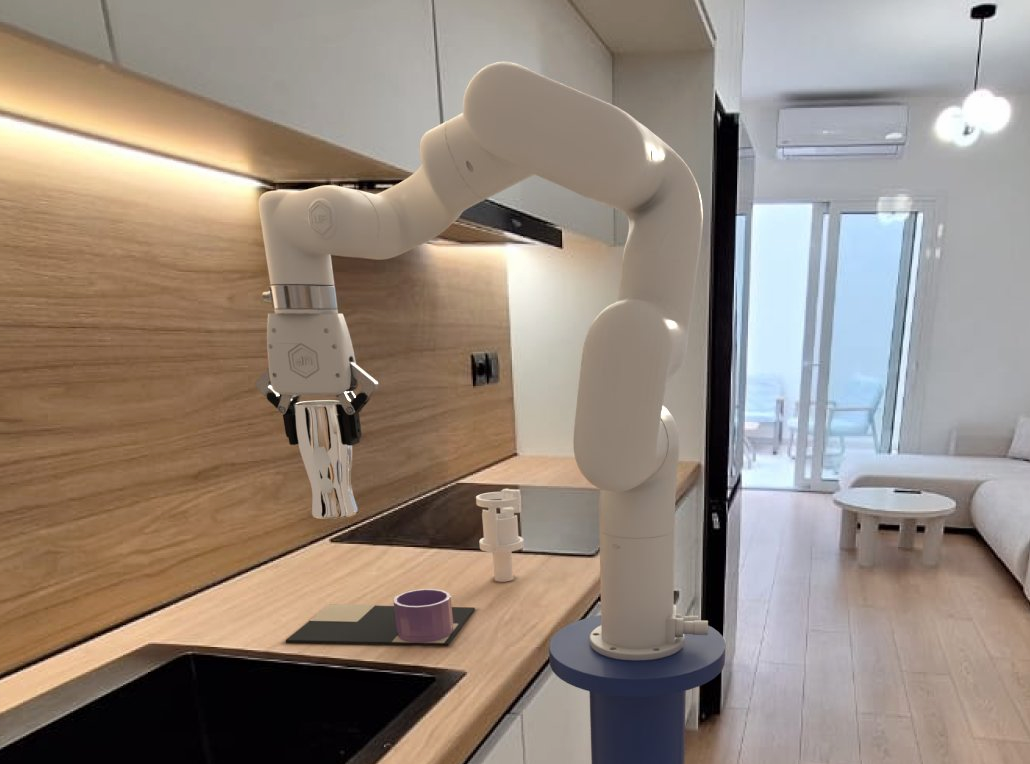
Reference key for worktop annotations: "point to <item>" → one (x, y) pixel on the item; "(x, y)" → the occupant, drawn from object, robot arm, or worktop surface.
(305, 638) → the place mat
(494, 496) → the white tall plastic stand
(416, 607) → the dish
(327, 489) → the beer glass
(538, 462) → the worktop surface
